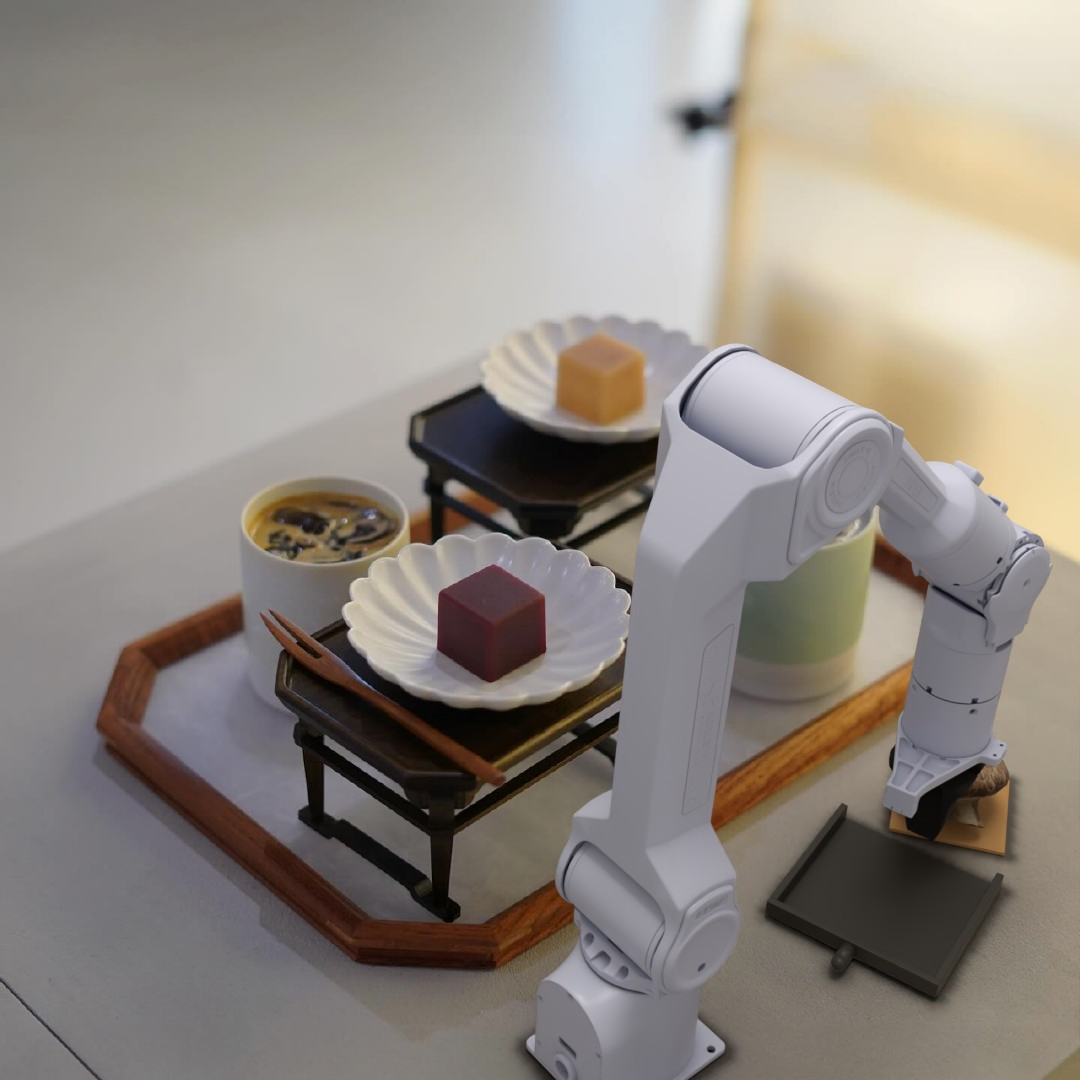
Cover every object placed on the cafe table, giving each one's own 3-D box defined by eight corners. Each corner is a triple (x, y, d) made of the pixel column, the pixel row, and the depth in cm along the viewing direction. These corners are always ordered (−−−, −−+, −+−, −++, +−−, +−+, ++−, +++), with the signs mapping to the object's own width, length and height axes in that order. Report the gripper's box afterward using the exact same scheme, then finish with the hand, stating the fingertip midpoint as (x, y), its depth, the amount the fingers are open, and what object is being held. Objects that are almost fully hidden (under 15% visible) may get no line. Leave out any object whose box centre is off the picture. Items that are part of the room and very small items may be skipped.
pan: (838, 818, 109) (841, 802, 108) (1000, 891, 103) (1004, 875, 102) (749, 936, 100) (752, 919, 99) (921, 1023, 94) (925, 1006, 93)
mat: (1004, 856, 106) (1004, 853, 106) (888, 830, 108) (889, 827, 108) (1009, 781, 113) (1010, 778, 112) (900, 758, 114) (900, 755, 114)
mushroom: (1017, 833, 103) (997, 742, 103) (899, 850, 105) (880, 761, 106) (1021, 810, 110) (1002, 725, 111) (911, 826, 113) (893, 743, 113)
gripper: (974, 762, 91) (937, 920, 98) (1055, 643, 101) (1016, 794, 108) (865, 717, 94) (837, 873, 101) (954, 605, 104) (923, 755, 111)
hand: (923, 830), depth 105 cm, fingers closed
